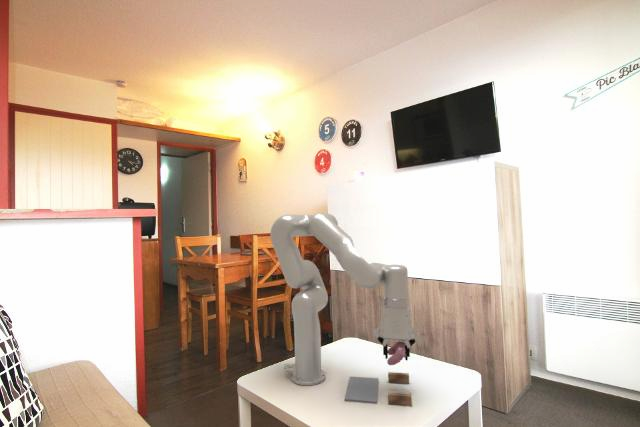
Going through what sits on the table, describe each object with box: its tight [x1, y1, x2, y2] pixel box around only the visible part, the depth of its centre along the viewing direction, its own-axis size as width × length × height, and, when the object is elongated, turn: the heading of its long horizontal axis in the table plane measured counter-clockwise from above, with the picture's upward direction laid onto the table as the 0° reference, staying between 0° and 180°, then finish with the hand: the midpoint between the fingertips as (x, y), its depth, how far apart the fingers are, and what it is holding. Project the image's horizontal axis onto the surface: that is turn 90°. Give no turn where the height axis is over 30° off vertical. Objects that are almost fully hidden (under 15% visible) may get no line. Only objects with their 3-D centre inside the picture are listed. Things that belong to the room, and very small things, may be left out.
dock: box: [387, 371, 413, 408], centre depth 112 cm, size 7×16×3 cm, turn 168°
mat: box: [343, 376, 379, 405], centre depth 114 cm, size 10×16×1 cm, turn 168°
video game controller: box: [386, 340, 406, 366], centre depth 112 cm, size 10×5×7 cm, turn 168°
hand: (396, 357), depth 113 cm, fingers closed on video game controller, 5 cm apart
